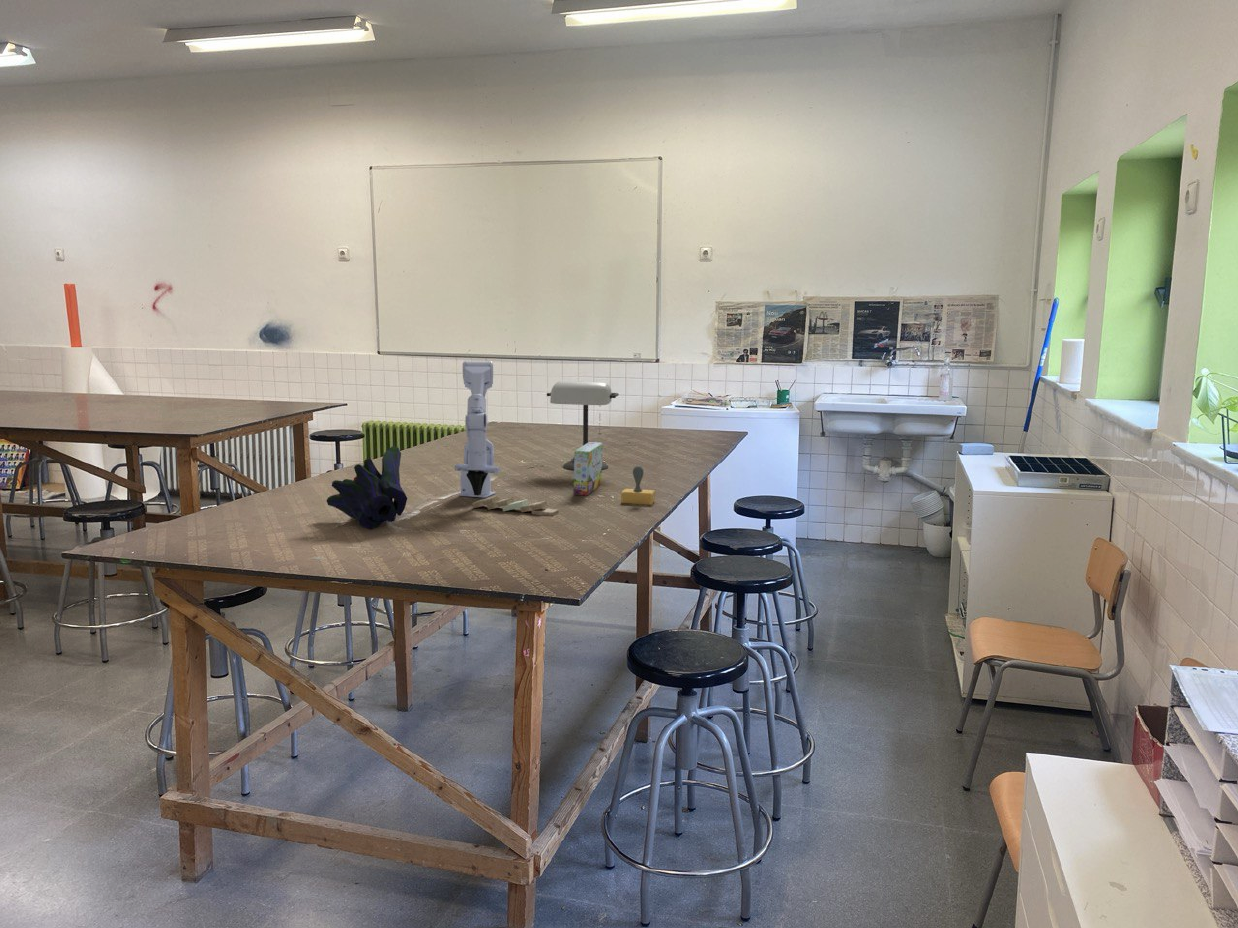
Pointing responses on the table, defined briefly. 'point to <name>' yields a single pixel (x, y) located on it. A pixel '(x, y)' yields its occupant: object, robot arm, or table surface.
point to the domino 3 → (515, 505)
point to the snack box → (587, 468)
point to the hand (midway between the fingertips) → (477, 494)
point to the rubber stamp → (637, 491)
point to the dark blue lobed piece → (372, 492)
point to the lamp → (582, 402)
